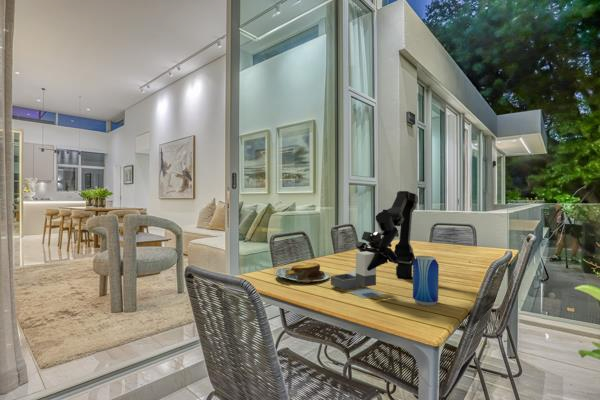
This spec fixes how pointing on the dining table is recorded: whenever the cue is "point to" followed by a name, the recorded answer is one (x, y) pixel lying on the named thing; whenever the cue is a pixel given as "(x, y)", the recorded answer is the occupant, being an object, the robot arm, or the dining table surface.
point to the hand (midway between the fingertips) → (362, 268)
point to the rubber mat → (365, 293)
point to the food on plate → (302, 273)
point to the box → (365, 269)
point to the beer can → (425, 280)
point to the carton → (344, 280)
